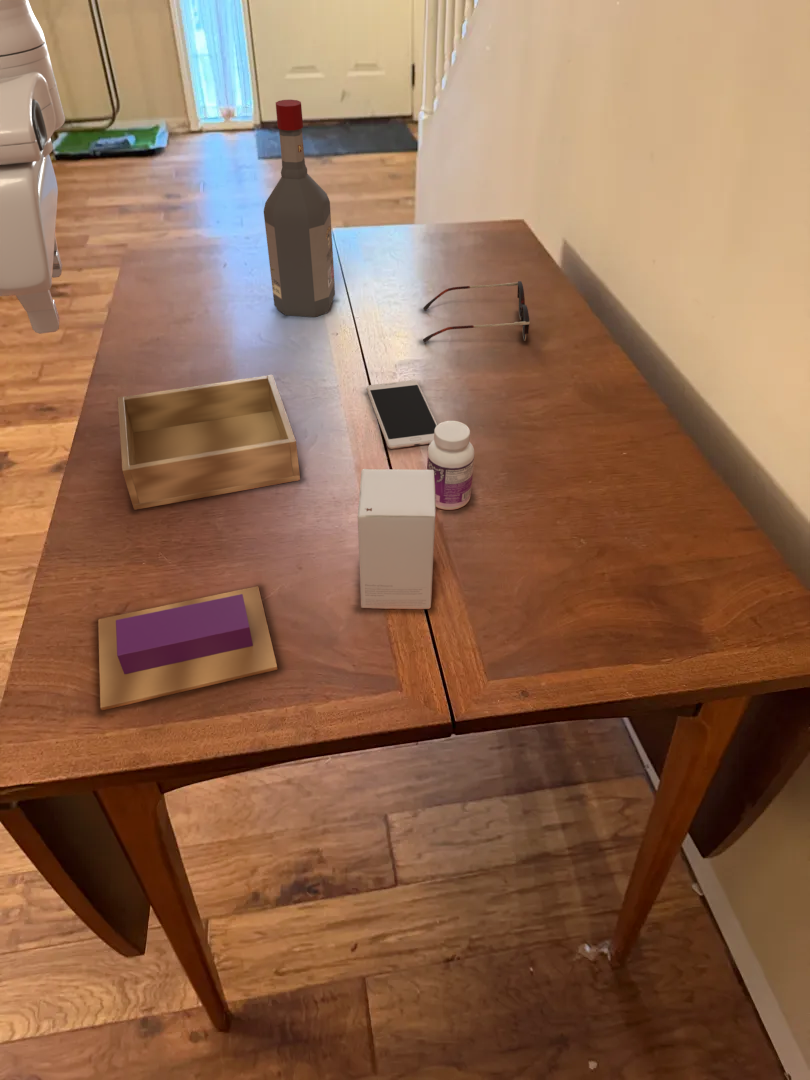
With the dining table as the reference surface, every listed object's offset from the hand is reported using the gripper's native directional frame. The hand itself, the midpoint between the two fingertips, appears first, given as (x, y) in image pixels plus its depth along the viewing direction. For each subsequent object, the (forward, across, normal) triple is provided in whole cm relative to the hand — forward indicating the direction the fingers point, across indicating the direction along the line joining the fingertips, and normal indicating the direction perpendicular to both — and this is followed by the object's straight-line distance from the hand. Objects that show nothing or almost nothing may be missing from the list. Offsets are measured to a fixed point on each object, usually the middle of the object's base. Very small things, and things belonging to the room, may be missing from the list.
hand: (50, 300), depth 59 cm
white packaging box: (+32, +7, +26) cm, 42 cm away
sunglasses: (+32, -44, +54) cm, 76 cm away
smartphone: (+32, -23, +36) cm, 53 cm away
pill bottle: (+32, -5, +36) cm, 48 cm away
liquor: (+32, -59, +30) cm, 73 cm away
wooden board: (+32, +9, +4) cm, 33 cm away
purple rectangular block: (+31, +9, +4) cm, 33 cm away
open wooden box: (+32, -21, +10) cm, 39 cm away
